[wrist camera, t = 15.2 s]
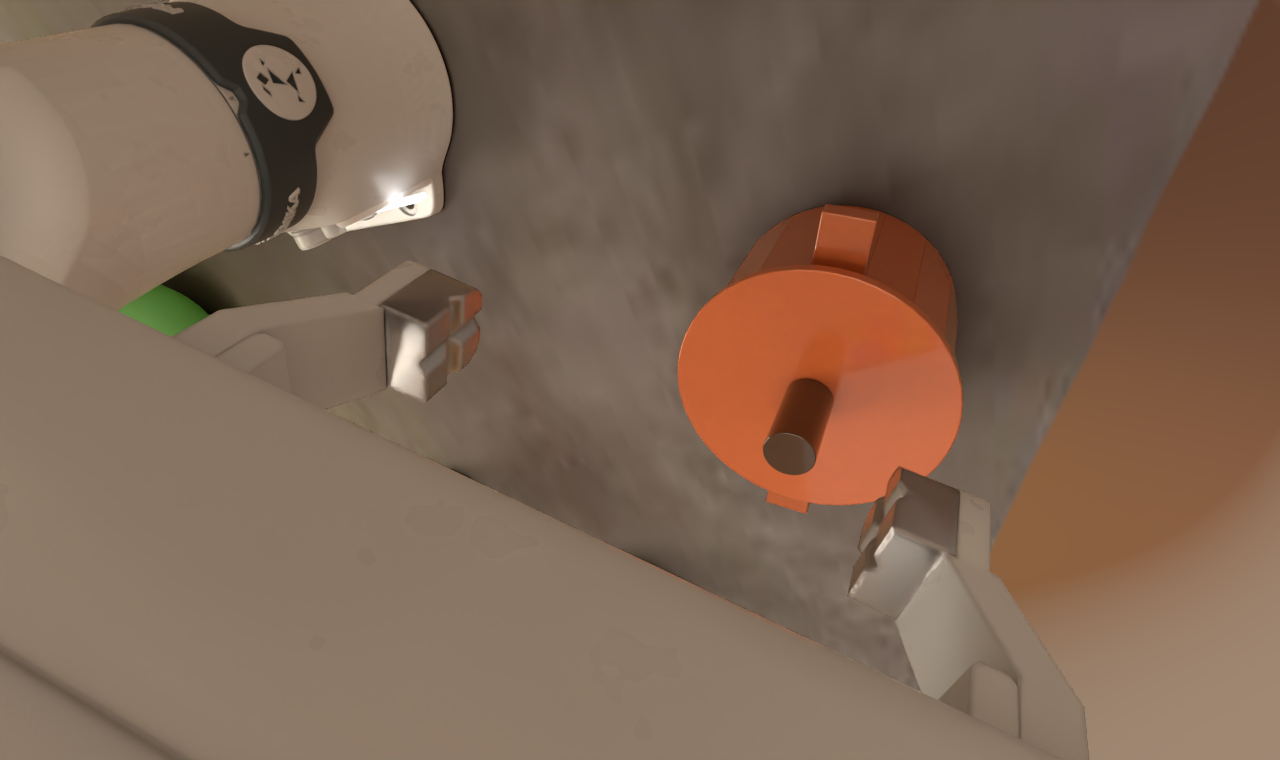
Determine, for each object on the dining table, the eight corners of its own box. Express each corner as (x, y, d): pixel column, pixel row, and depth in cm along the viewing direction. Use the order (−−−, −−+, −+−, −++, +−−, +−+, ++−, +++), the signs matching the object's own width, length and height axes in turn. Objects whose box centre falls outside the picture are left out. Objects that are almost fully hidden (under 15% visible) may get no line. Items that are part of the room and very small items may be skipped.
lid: (676, 450, 42) (640, 515, 38) (695, 232, 34) (650, 285, 30) (920, 521, 39) (909, 603, 34) (1006, 294, 30) (1006, 365, 26)
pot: (723, 400, 50) (679, 484, 43) (756, 139, 39) (705, 195, 33) (912, 450, 46) (896, 551, 39) (1004, 177, 36) (1005, 251, 29)
